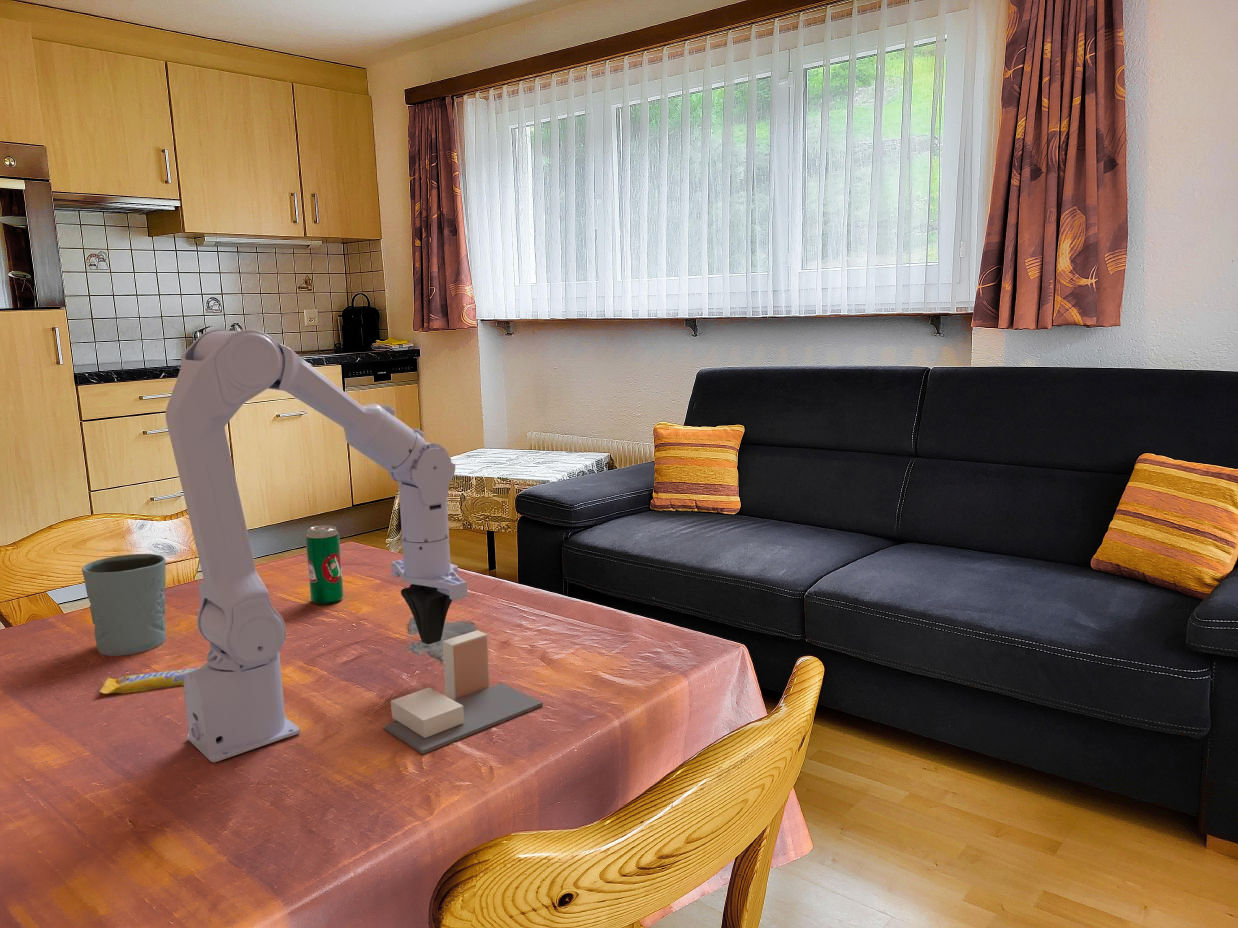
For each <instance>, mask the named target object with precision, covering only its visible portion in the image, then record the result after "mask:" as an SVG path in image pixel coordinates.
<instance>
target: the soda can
mask: <svg viewBox="0 0 1238 928" xmlns="http://www.w3.org/2000/svg"><path fill="white" fill-rule="evenodd" d="M305 544H306V545H305V547H306V558H307V567H308V568H307V569H308V570H307V572H308V582H309V584H308V585H309V593H310V594H309V596H310V600H311V602H312V603H314V604H316V605H321V606H322V605H332V604H335V603H338V602H340V601H341V600H342V599H343V597H344V585H343V581H344V580H343V572H342V571H343V570H342V556H341V555H342V554H341V541H340V533H339V532H338V530H337V527H336V525H335V526H334V525H327V524H325V525H317V526H312V527H310V528H308V529H307V534H306V535H305Z"/></svg>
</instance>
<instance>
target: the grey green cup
mask: <svg viewBox="0 0 1238 928" xmlns="http://www.w3.org/2000/svg"><path fill="white" fill-rule="evenodd" d="M166 562H167V561H166V558H165V556H163V555H160V554H155V553H134V554H133V553H132V554H131V553H130V554H123V555H116V556H115V555H114V556H110V557H105V558H100V559H96V560H95V561H91V562H89V563H87V564H85V565H83V567H82V568H81V572H82V576H83V579H84V580H83V581H84V584H85V585H84V586H85V590H86V595H87V599H88V600H89V604H90V605H89V611H90V615H91V621H92V624H93V625H94V638H95V642H96V648H97V652H98V653H99V654H101V655H103V656H107V655H108V656H109V657H121V656H122V655H123V656H129V655H137V654H140V653H139V652H141V653H144V652H147V650H148V651H151V650H153V649H156V648H158V647H159V645H160V646H162V644H164V643H165V641H166V639H167V637H166V636H167V633H166V631H167V630H166V629H167V626H166V623H167V622H166V618H165V614H166V595H165V594H164V593H165V590H166ZM157 646H158V647H157ZM155 647H156V648H155ZM150 649H151V650H150ZM108 656H107V657H108ZM123 656H122V657H123Z"/></svg>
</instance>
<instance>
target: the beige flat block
mask: <svg viewBox="0 0 1238 928" xmlns="http://www.w3.org/2000/svg"><path fill="white" fill-rule="evenodd" d="M390 711H391V718H392V719H394V720H395V721H398V722H400V723H402V724H403V725H405V726H406V727H408V728H410V729H411V730H413V731H414V732H416V733H418V734H419V735H421V736H422V737H424V738H427V737H430V736H432V735H435V734H437V733H440V732H442V731H445V730H448V729H450V728H453V727H455V726H458V725H460V724H462V723H464V710H463V705H461V704H459V703H457V702H455V701H454V700H452V699H450V698H448V697H446V694H443V693H441V692H439V691H437V690H435V689H433V688H432V687H426V688H423V689H421V690H417V691H415V692H412V693H409V694H406V695H403V696H400V697H398V698H395V699H392V700H390Z"/></svg>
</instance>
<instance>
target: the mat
mask: <svg viewBox="0 0 1238 928" xmlns="http://www.w3.org/2000/svg"><path fill="white" fill-rule="evenodd" d="M454 701H455V702H457V703H459V704H461V705H463V710H464V723H462V724H460V725H458V726H455V727H453V728H450V729H448V730H445V731H442V732H440V733H437V734H435V735H432V736H430V737H427V738H424V737H422V736H421V735H419V734H418V733H416V732H414V731H413V730H411V729H410V728H408V727H406V726H405V725H403V724H402V723H400V722H398V721H397V720H395V721H393V722H391V723H389V724H386V725H384V727H383V728H384V730H385V731H387V732H388V733H390V734H391V735H393V736H395V737H396V738H397V739H398V740H401V741H402V742H403V743H405V744H406V745H408V746H410V747H411V748H412V749H413V750H416V751H417V752H419V753H420V754H422V755H424V754H427V753H429V752H431V751H434V750H437V749H439V748H442V747H444V746H447V745H448V744H452V743H454V742H456V741H459V740H462V739H464V738H466V737H468V736H471V735H474V734H476V733H479V732H481V731H484V730H486V729H488V728H491V727H494V726H496V725H499V724H501V723H504V722H506V721H508V720H511V719H513V718H516V717H518V716H521V715H523V714H526V713H528V712H530V711H534V710H537V709H539V708H541V707H543V706H544V705H543V704H544V703H543V702H542V701H540V700H538V699H536V698H534V697H532V696H530V695H528V694H526V693H524V692H521V691H520V690H518V689H515V688H514V687H512V686H510V685H508V684H506V683H503V682H500V683H497V684H495V685H492V686H490V687H489V688H486V689H484V690H481V691H478V692H475V693H473V694H470V695H467V696H464V697H462V698H459V699H456V700H454Z"/></svg>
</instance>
